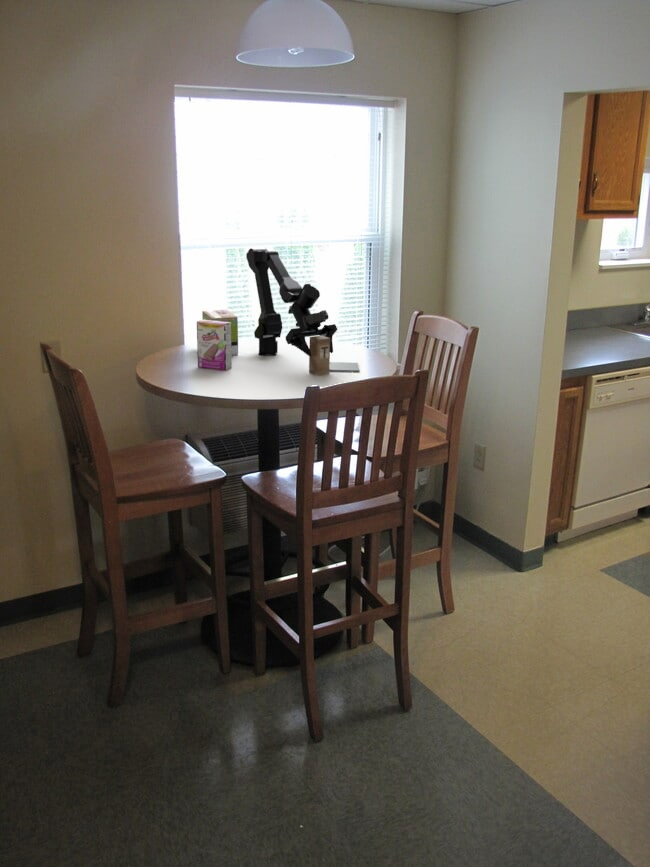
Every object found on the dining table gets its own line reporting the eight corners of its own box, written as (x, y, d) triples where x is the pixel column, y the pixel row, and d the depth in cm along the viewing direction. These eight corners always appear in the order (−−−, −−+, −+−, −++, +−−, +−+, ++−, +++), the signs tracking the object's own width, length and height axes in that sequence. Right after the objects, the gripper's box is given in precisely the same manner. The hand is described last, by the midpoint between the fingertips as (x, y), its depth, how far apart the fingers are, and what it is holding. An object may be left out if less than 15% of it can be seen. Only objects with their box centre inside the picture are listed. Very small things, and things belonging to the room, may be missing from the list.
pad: (327, 371, 266) (327, 369, 266) (327, 363, 276) (327, 362, 276) (359, 372, 266) (359, 370, 266) (357, 364, 276) (357, 362, 276)
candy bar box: (197, 368, 266) (195, 321, 260) (203, 364, 270) (202, 318, 265) (226, 371, 263) (225, 324, 257) (232, 368, 267) (231, 321, 262)
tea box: (202, 348, 295) (201, 310, 290) (227, 346, 298) (227, 308, 294) (213, 357, 282) (212, 317, 277) (239, 355, 286) (238, 315, 281)
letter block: (309, 372, 264) (309, 337, 260) (320, 370, 267) (321, 335, 262) (318, 376, 260) (319, 340, 256) (330, 374, 263) (330, 338, 258)
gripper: (290, 305, 253) (309, 343, 249) (335, 300, 264) (353, 337, 259) (277, 324, 262) (295, 362, 257) (321, 319, 273) (339, 355, 268)
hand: (321, 354), depth 260 cm, fingers open, 9 cm apart
